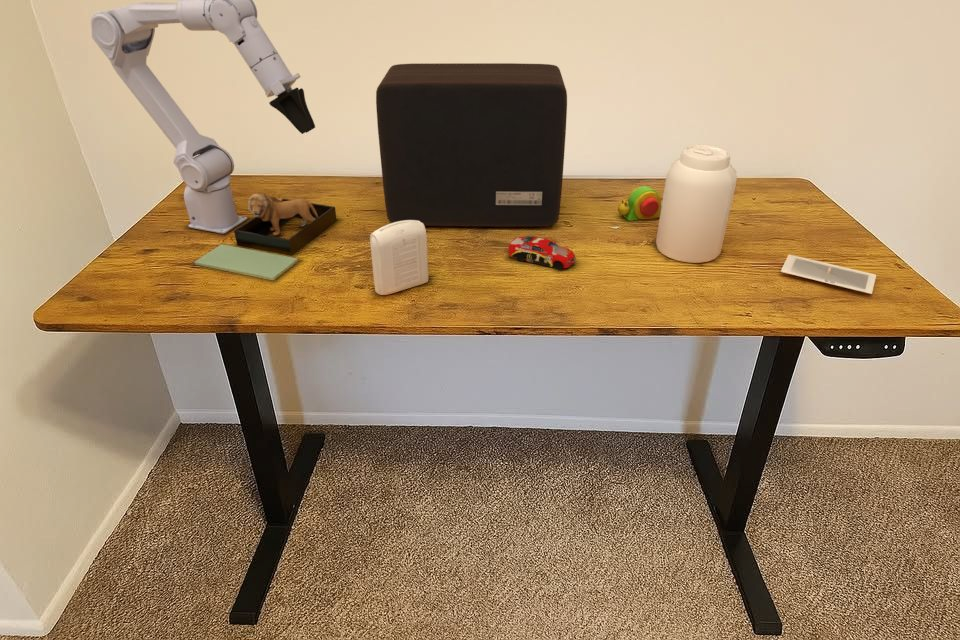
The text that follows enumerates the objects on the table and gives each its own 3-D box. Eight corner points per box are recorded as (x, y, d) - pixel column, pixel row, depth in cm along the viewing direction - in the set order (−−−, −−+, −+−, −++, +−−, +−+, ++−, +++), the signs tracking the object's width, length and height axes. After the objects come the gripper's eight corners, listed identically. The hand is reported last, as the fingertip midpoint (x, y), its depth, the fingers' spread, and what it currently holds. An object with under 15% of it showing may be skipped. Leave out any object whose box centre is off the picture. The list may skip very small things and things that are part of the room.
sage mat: (194, 264, 124) (193, 261, 124) (222, 246, 131) (221, 243, 130) (273, 280, 119) (273, 277, 119) (298, 261, 125) (297, 258, 125)
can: (642, 241, 131) (657, 144, 120) (693, 231, 135) (712, 136, 124) (680, 269, 122) (700, 167, 111) (734, 257, 126) (758, 157, 114)
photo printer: (421, 272, 121) (417, 211, 114) (432, 282, 118) (429, 220, 111) (371, 288, 116) (363, 225, 110) (381, 299, 113) (375, 235, 107)
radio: (553, 197, 150) (562, 61, 134) (559, 231, 136) (569, 82, 119) (398, 196, 151) (387, 61, 135) (386, 229, 137) (373, 82, 120)
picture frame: (237, 245, 131) (233, 230, 129) (286, 212, 144) (283, 198, 142) (291, 255, 127) (289, 240, 125) (337, 220, 140) (335, 206, 139)
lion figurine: (256, 241, 132) (247, 200, 127) (253, 231, 136) (244, 190, 131) (328, 229, 136) (322, 188, 131) (323, 219, 140) (317, 179, 135)
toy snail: (610, 214, 142) (613, 186, 139) (687, 202, 147) (692, 175, 144) (624, 226, 137) (628, 197, 134) (703, 213, 142) (709, 185, 139)
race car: (579, 261, 125) (580, 242, 123) (569, 273, 121) (570, 254, 119) (516, 246, 130) (517, 228, 127) (504, 258, 126) (505, 239, 123)
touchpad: (787, 259, 125) (790, 249, 124) (874, 279, 118) (878, 269, 117) (779, 276, 119) (782, 266, 118) (869, 299, 113) (873, 288, 111)
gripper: (278, 46, 108) (324, 119, 113) (288, 53, 122) (329, 119, 127) (242, 68, 109) (290, 140, 113) (256, 73, 122) (299, 137, 127)
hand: (309, 130), depth 120 cm, fingers open, 7 cm apart
